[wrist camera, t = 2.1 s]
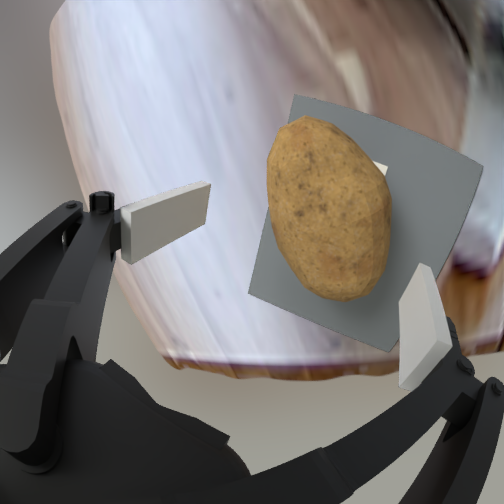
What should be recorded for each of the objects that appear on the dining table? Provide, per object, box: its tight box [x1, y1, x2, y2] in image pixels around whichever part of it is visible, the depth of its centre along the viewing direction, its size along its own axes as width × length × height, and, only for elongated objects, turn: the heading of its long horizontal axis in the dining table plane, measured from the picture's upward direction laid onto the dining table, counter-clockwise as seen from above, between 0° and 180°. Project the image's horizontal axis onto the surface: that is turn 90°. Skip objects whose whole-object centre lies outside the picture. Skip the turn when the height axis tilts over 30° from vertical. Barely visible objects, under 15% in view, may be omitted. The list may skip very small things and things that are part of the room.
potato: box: [267, 115, 392, 302], centre depth 20 cm, size 10×14×8 cm
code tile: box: [248, 94, 483, 352], centre depth 24 cm, size 22×18×1 cm
